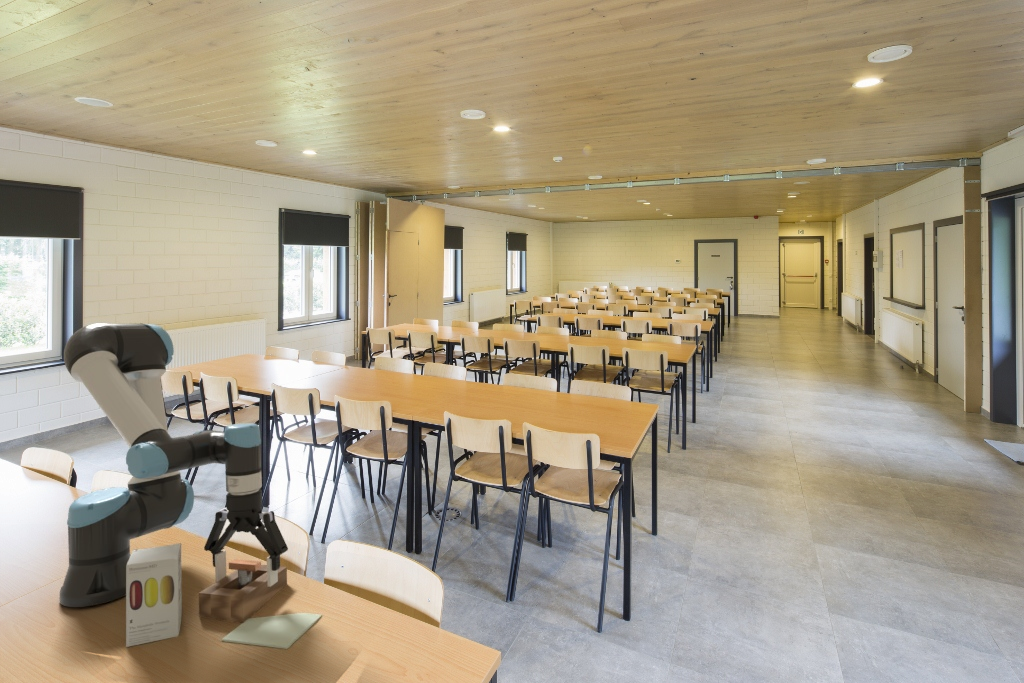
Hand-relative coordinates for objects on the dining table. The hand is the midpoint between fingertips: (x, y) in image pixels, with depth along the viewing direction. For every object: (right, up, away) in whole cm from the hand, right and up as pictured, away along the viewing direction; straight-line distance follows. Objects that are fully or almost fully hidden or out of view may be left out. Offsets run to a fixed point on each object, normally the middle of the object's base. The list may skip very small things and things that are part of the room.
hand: (246, 582), depth 129 cm
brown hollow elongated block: (0, -5, 0) cm, 5 cm away
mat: (+11, -5, -10) cm, 16 cm away
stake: (0, -5, 0) cm, 5 cm away
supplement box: (-14, -6, -11) cm, 19 cm away
